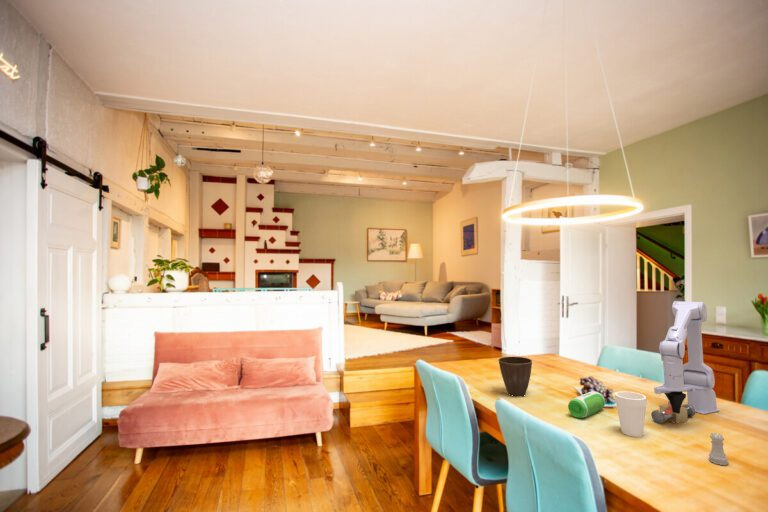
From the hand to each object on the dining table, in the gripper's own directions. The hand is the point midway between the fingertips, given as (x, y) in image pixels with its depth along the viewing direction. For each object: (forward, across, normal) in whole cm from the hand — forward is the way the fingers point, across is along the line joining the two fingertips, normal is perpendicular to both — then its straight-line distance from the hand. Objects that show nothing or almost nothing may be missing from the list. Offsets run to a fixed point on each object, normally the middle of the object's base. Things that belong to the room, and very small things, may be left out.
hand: (676, 412), depth 138 cm
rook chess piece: (+5, +10, +24) cm, 27 cm away
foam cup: (+5, +19, +2) cm, 20 cm away
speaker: (+5, +22, -18) cm, 29 cm away
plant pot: (+5, +38, -46) cm, 60 cm away
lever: (0, -1, -3) cm, 3 cm away
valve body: (+5, -5, -6) cm, 9 cm away
